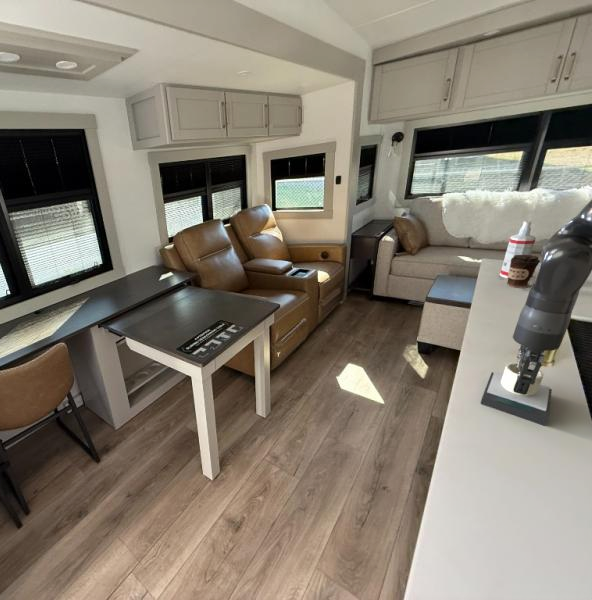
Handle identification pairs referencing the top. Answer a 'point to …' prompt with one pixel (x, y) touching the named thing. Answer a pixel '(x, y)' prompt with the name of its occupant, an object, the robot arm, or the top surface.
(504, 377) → the bowl
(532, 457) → the top surface
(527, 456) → the top surface
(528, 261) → the coffee cup
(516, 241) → the spray bottle
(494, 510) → the top surface
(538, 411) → the scale
